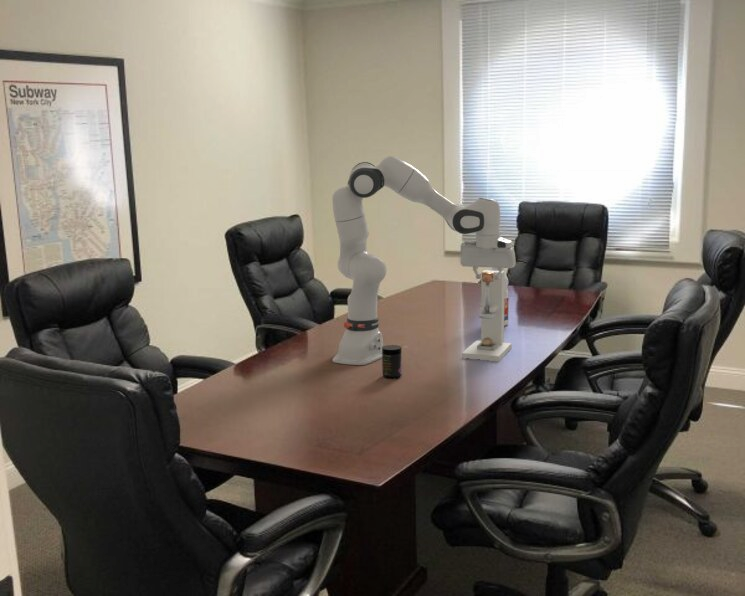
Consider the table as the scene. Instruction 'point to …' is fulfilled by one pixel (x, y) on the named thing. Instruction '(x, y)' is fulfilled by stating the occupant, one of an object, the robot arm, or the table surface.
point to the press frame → (491, 324)
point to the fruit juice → (505, 298)
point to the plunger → (487, 295)
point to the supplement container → (391, 361)
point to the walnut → (487, 342)
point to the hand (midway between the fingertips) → (487, 279)
